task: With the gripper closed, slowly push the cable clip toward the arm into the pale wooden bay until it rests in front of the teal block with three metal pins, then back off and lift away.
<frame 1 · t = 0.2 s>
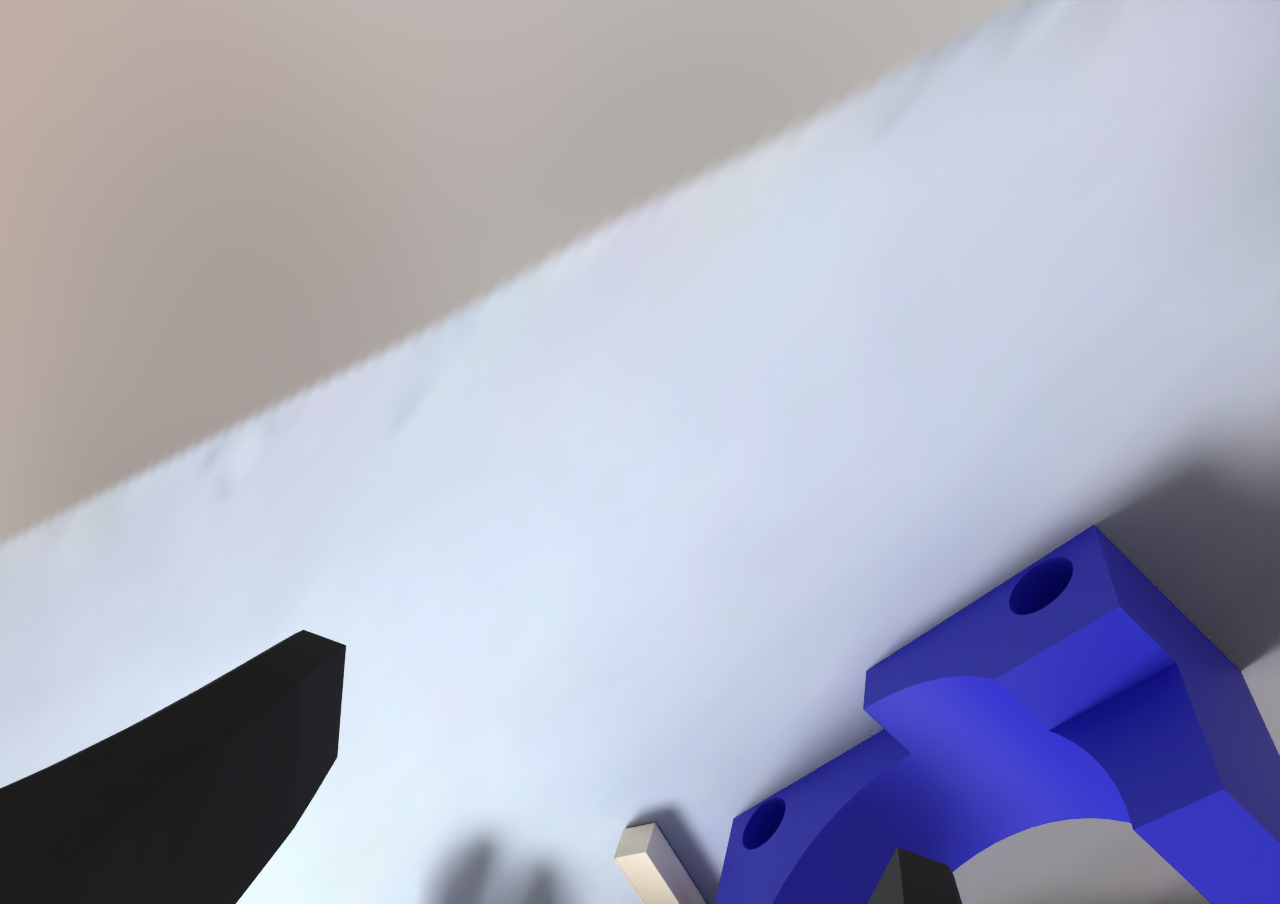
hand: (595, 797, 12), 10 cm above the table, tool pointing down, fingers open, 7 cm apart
cable clip: (933, 722, 22), on the table
pin bay: (1006, 884, 24), on the table
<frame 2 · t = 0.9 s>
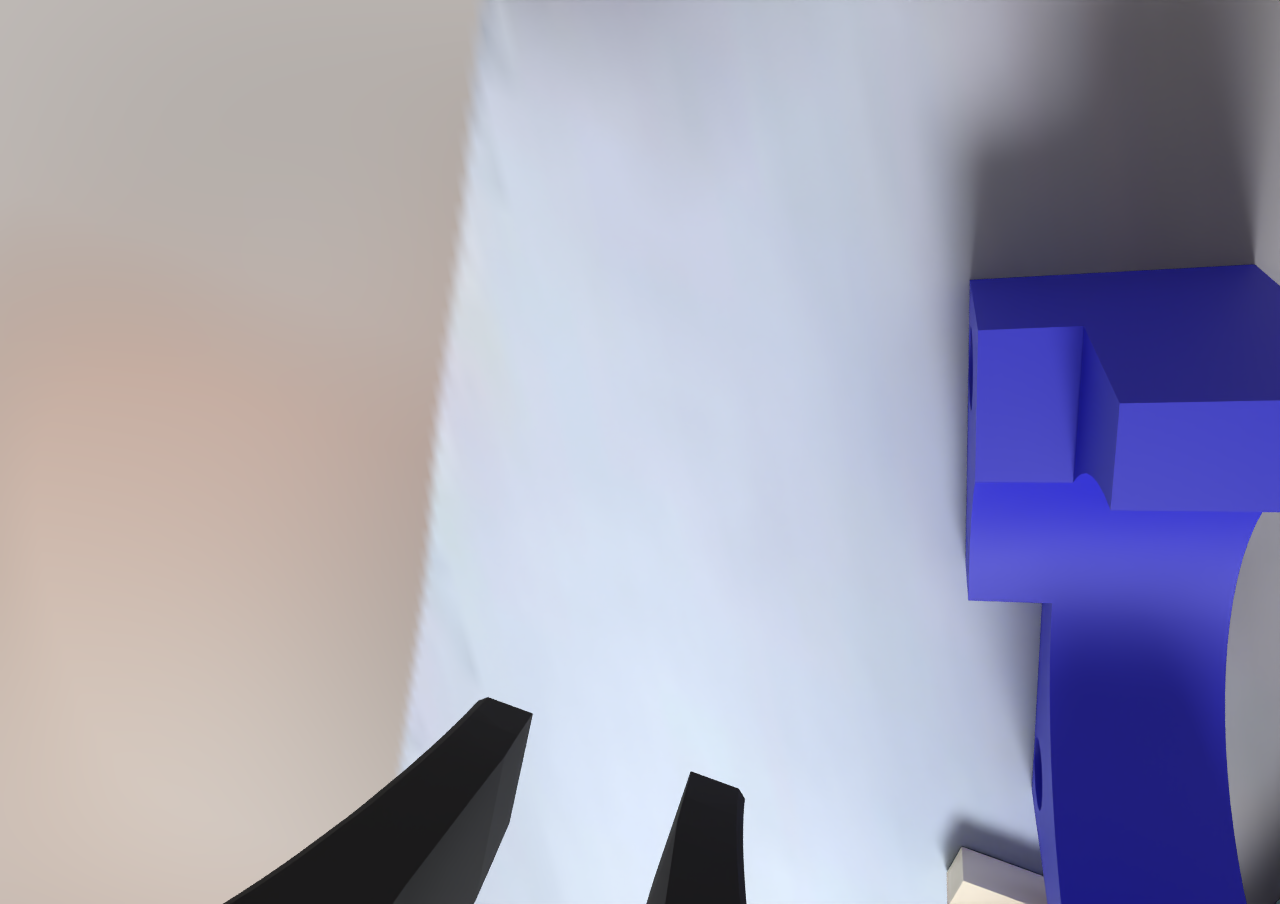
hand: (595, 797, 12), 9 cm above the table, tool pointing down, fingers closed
cable clip: (1081, 557, 19), on the table
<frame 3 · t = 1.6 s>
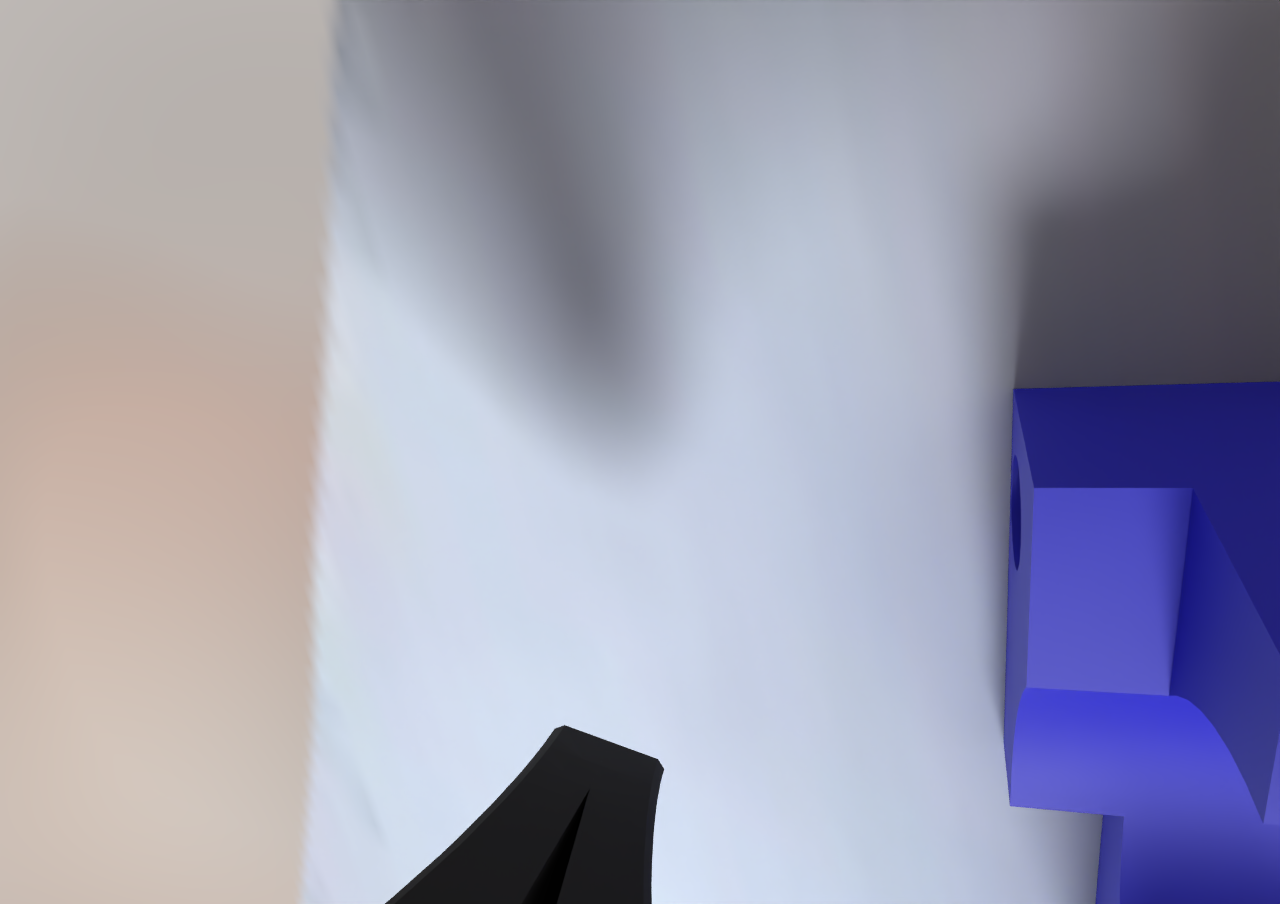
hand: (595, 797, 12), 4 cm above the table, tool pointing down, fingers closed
cable clip: (1158, 737, 15), on the table
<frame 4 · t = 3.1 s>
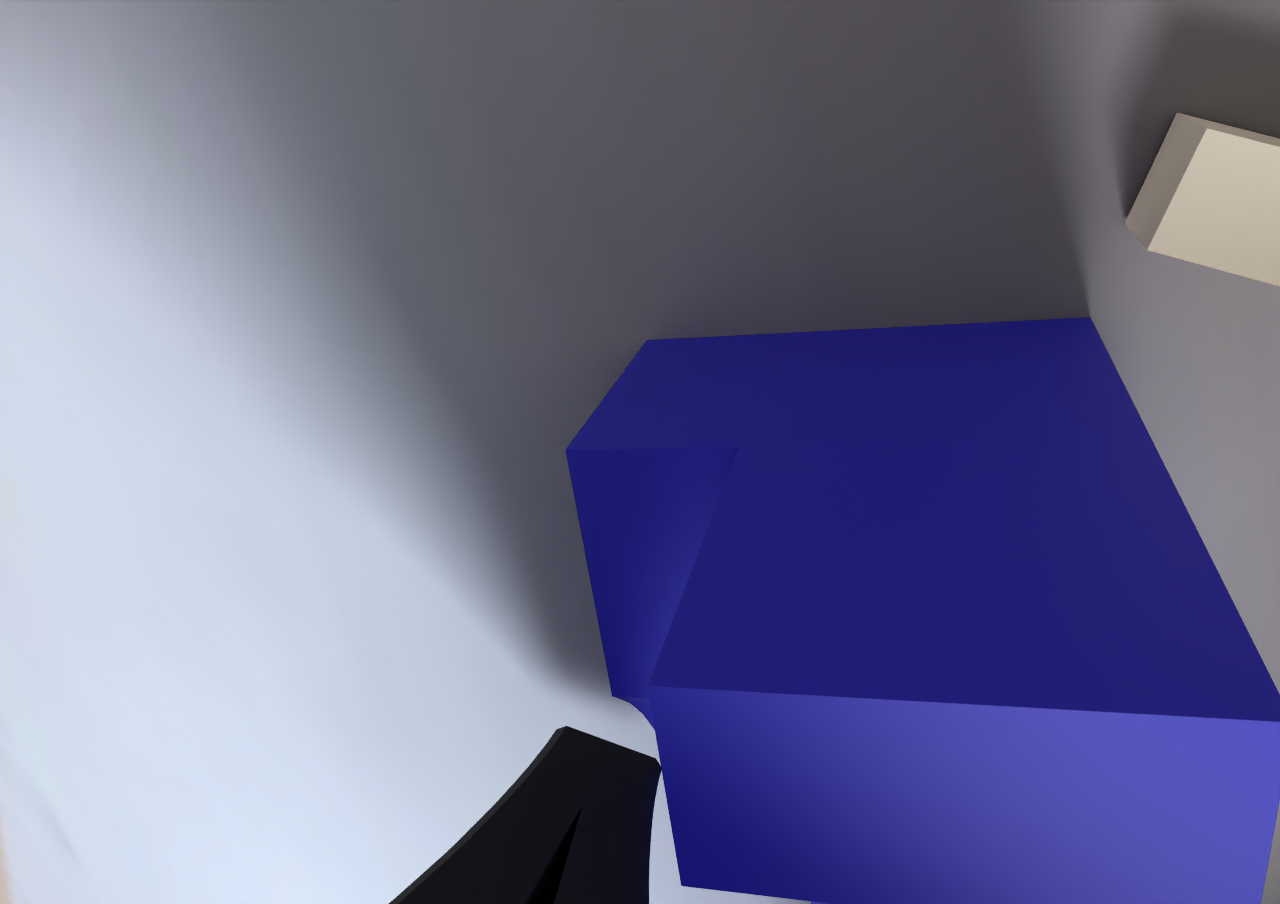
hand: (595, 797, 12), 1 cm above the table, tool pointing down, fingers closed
cable clip: (876, 749, 13), on the table, touching gripper
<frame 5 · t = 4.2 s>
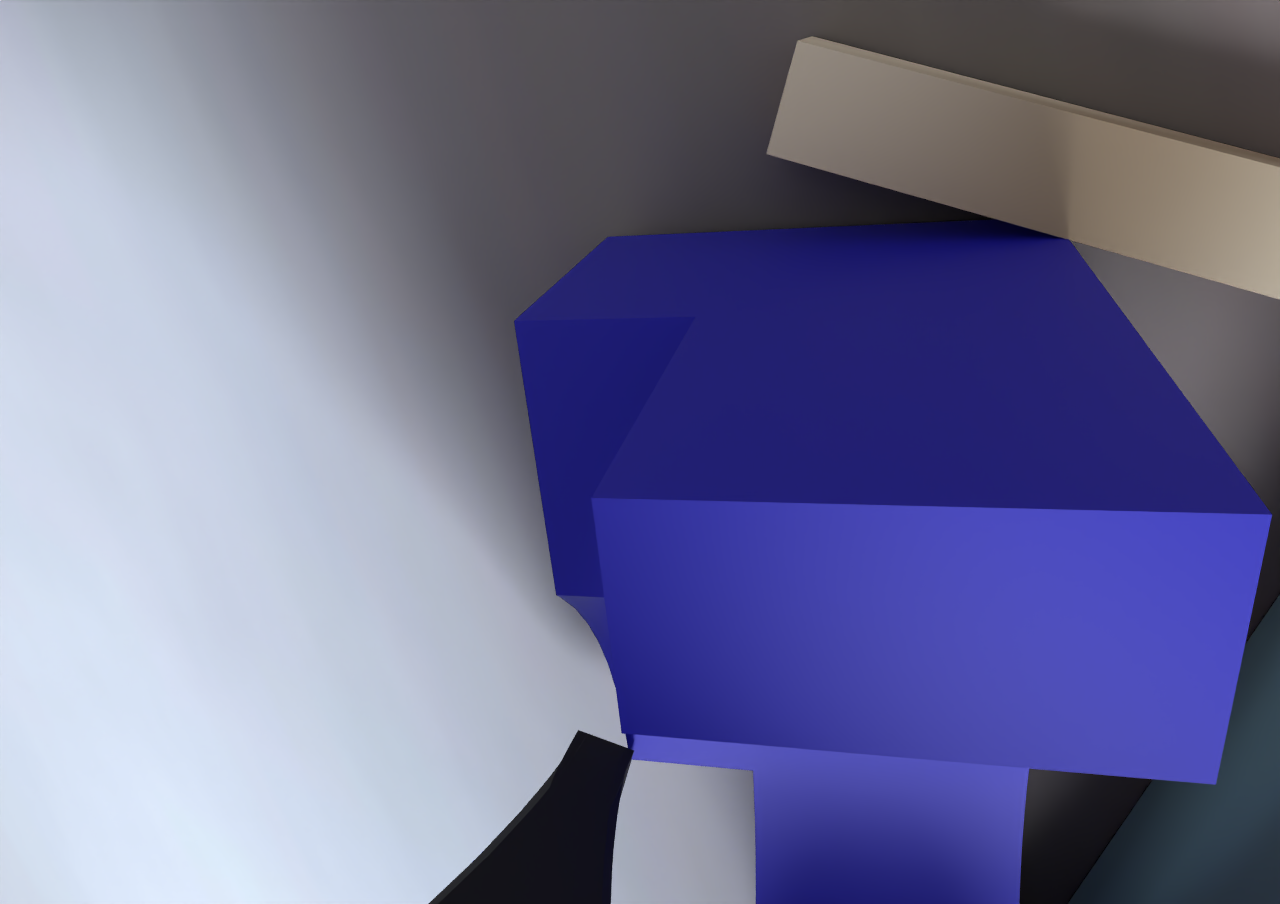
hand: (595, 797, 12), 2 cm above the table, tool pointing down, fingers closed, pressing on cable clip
cable clip: (825, 682, 12), on the table, touching gripper, pin bay
pin bay: (898, 810, 13), on the table
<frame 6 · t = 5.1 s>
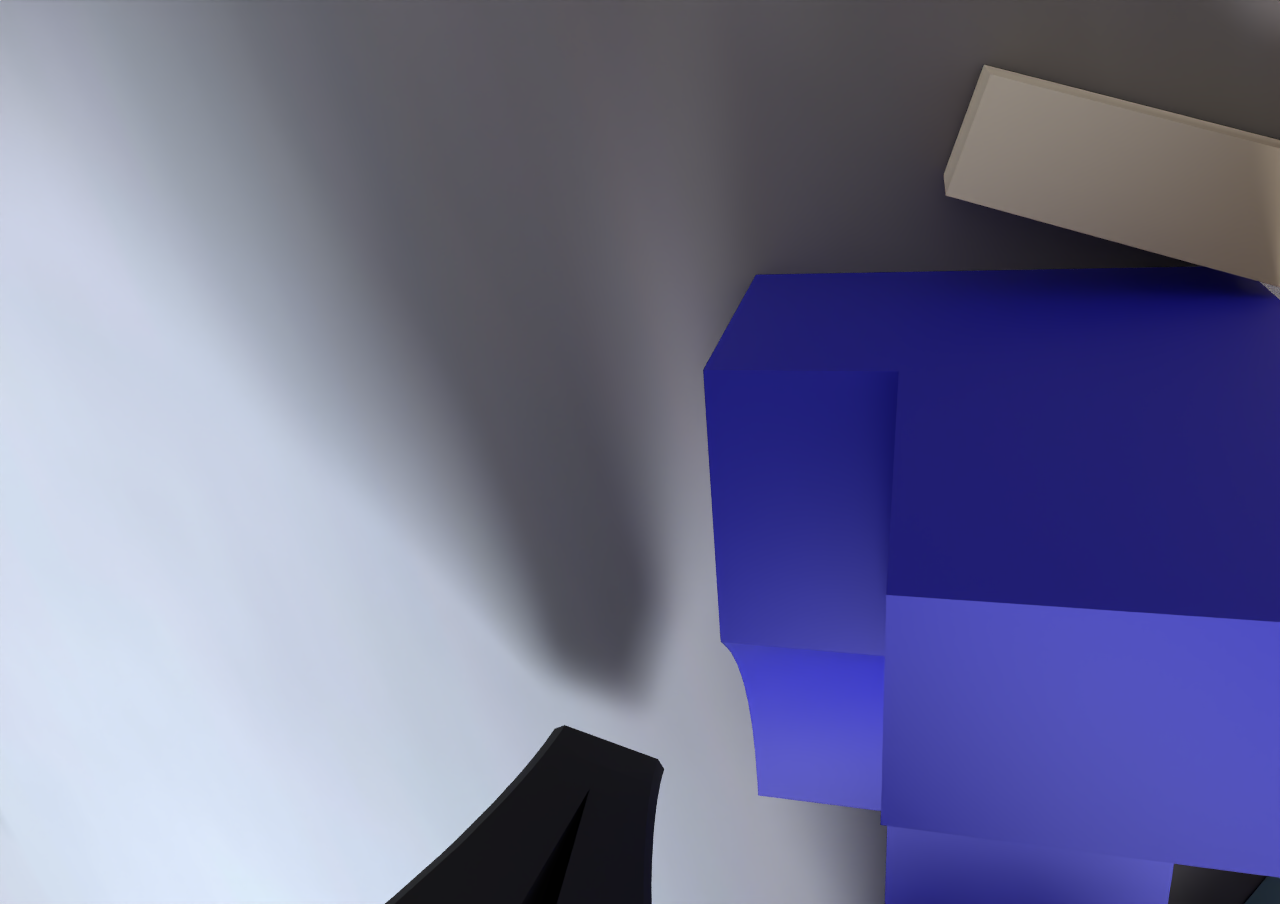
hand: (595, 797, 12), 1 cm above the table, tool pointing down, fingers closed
cable clip: (951, 719, 12), on the table
pin bay: (1022, 863, 12), on the table
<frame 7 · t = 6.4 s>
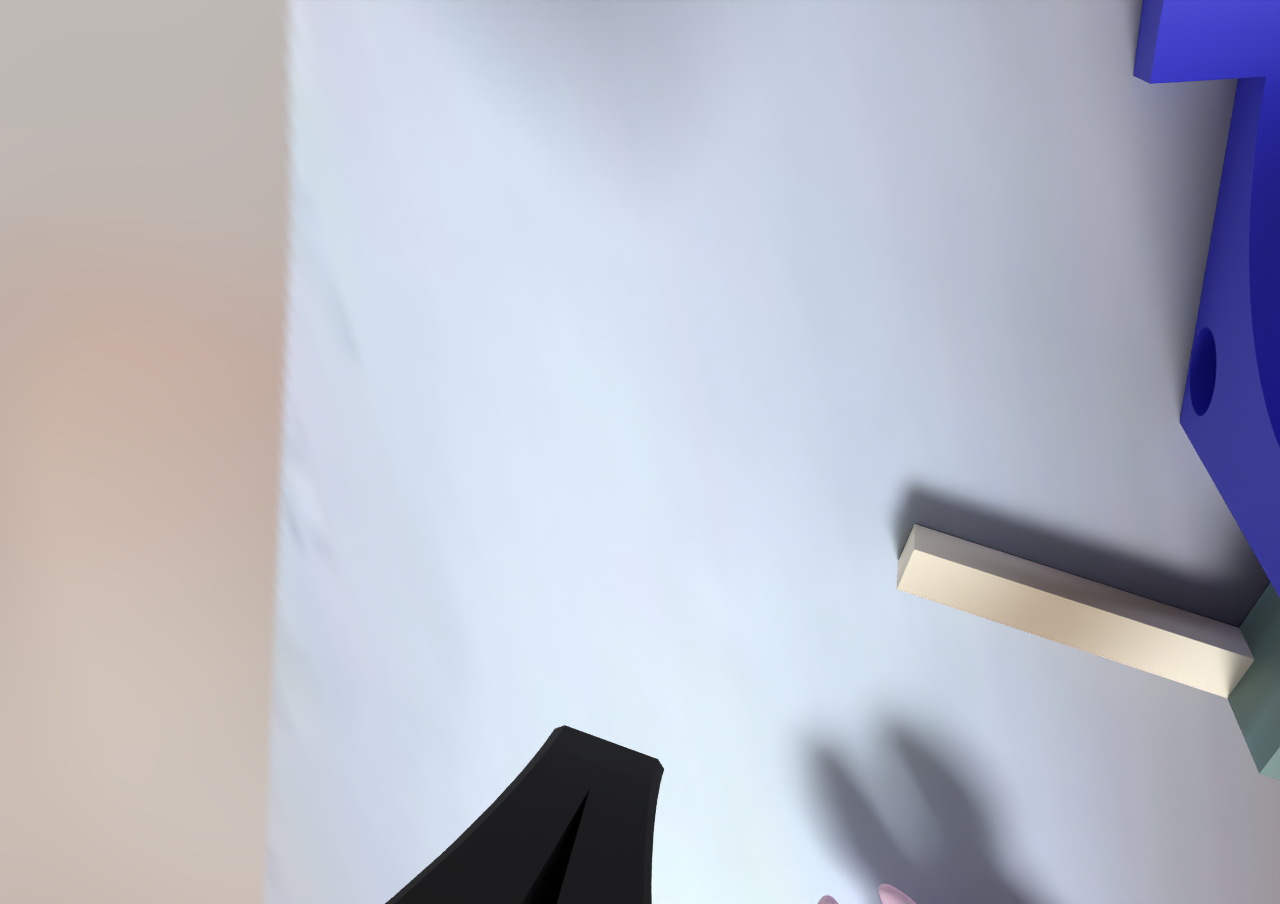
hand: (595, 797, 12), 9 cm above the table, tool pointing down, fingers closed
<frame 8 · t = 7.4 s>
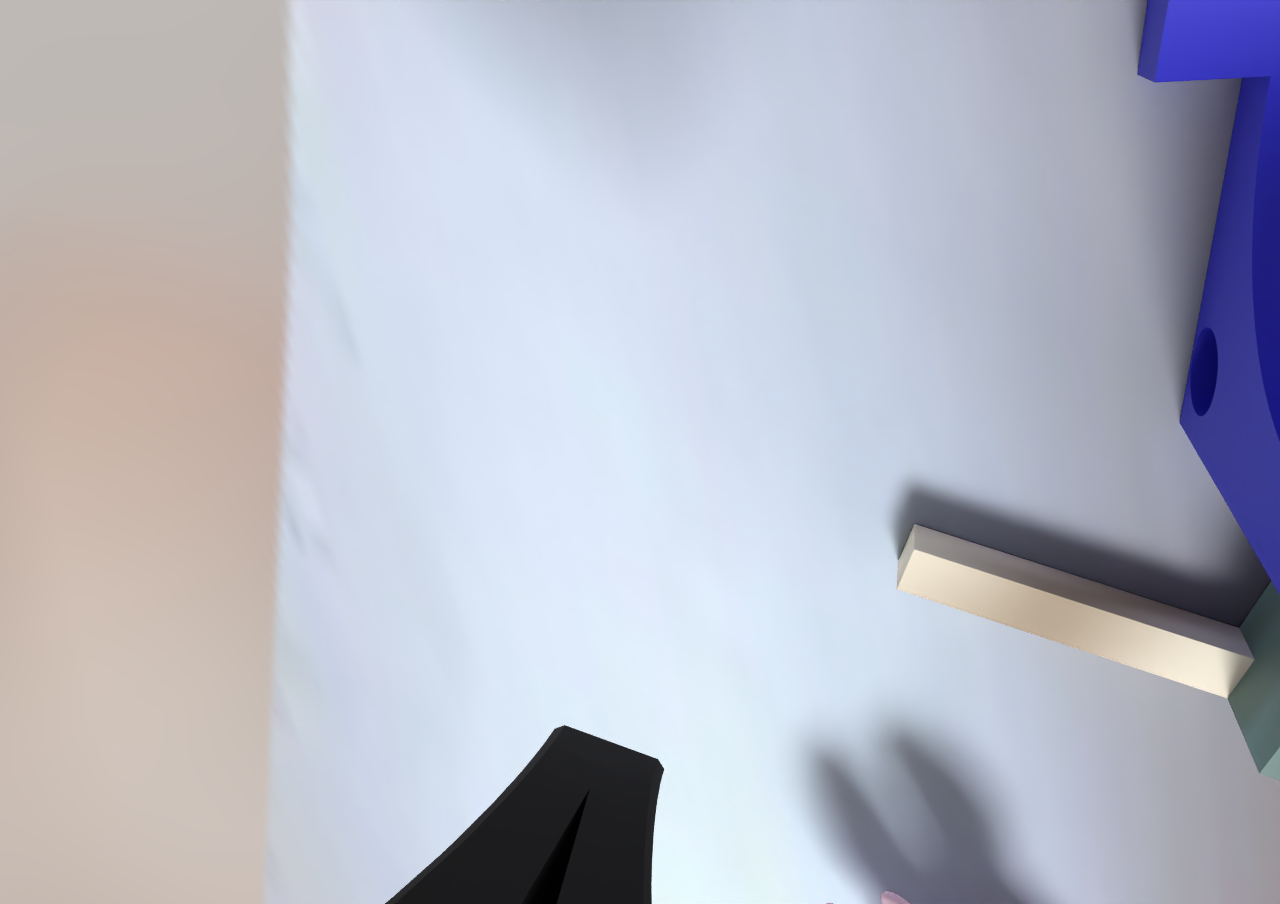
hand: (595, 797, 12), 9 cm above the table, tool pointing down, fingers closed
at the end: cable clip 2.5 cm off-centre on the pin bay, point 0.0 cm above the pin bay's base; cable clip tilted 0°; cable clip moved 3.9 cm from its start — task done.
